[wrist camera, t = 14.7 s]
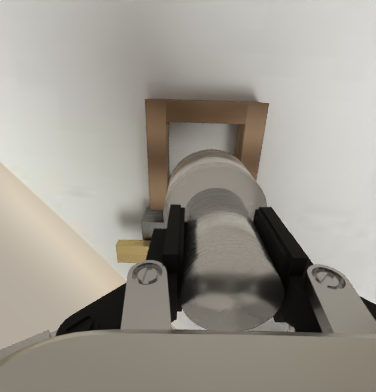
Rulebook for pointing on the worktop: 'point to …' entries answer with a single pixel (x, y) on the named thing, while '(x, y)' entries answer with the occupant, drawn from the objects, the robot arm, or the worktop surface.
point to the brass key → (132, 250)
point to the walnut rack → (200, 113)
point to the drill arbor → (222, 244)
